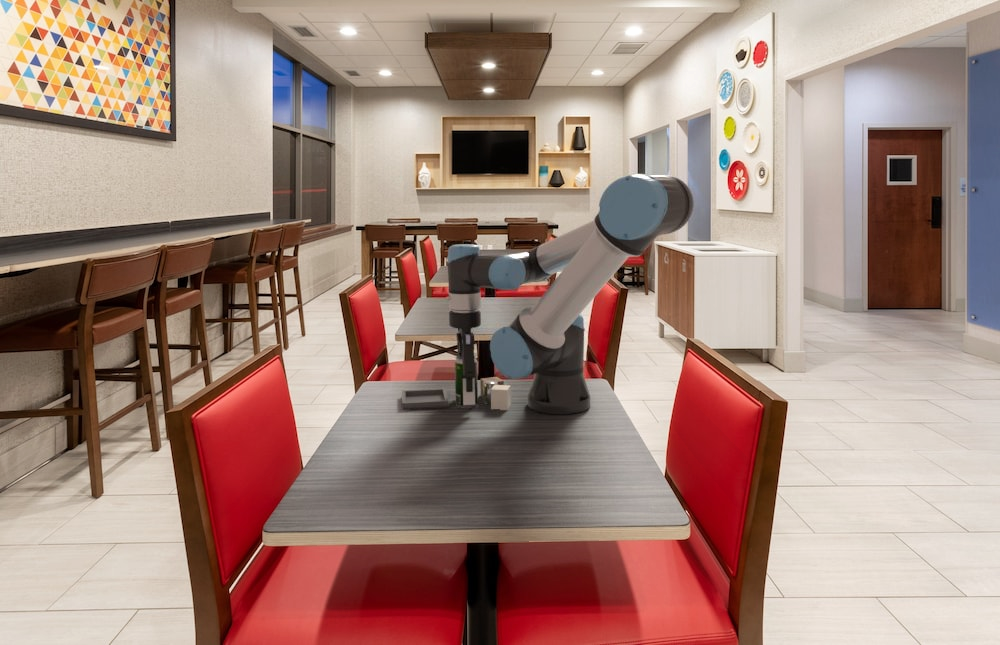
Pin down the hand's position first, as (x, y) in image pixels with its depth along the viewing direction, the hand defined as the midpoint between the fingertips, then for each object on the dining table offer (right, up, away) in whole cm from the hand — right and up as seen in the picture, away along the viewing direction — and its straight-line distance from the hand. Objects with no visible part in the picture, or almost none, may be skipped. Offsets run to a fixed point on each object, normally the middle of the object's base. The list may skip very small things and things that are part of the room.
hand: (466, 396), depth 171 cm
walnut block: (+6, -1, +7) cm, 10 cm away
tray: (-10, -2, +3) cm, 11 cm away
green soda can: (0, -2, 0) cm, 2 cm away
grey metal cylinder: (+6, -2, +3) cm, 7 cm away
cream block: (+8, -3, -1) cm, 9 cm away
